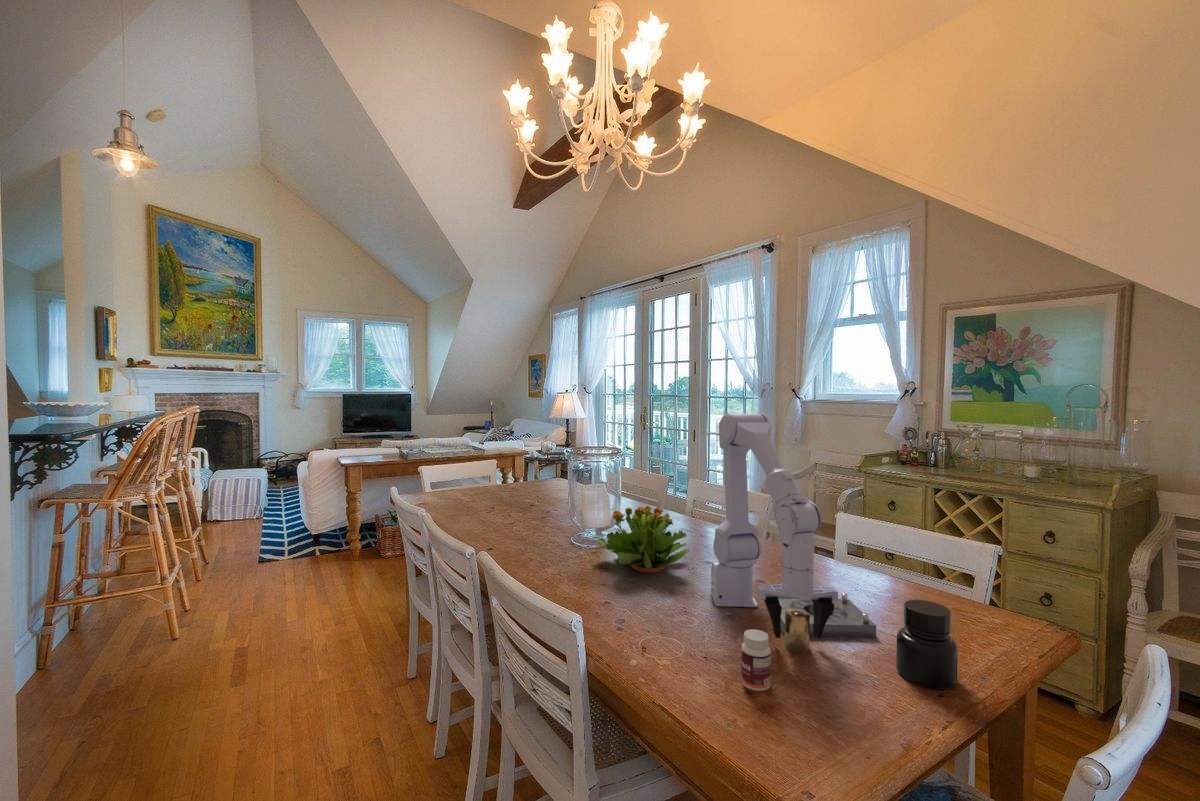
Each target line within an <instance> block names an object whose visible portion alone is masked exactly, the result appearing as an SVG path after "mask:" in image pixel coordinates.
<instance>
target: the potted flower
mask: <svg viewBox="0 0 1200 801" xmlns="http://www.w3.org/2000/svg"><path fill="white" fill-rule="evenodd" d="M624 510H625V513H626V517H625V518H624V516H625V515H624V514H623V513H622V511H619V510H615V511H613V513H612V519H613V520H615V525H616V526H617V530H616V531H615V532H612V531H611V532H610V533H609V532H608V533H606V539H607V541H606V540H605V539H604V538H603V537H600V538H598V540H597V544H599V545H601V546H606V549H607V550H608V551H610V553H613V554H615V555H617V560H618V563H619V565H629V566H630V567H631V568H632V569H633V570H635V571H638V572H642V573H659V572H662V571H663V570H665V569H666V566H668V565H671V564H674V563H675V562H678V561H679V560H681V559H682V558H683V557H684V556H685V555H686V554H687V553H689V552H690V548H685V549H682V550H679V549H680V548H683V547H685V546H687V545H688V543H687V542H684V543H681V542H678V540H680V539H685V538H686V537H687V533H686V532H684V531H683V530H682V529H679V530H678V532H676V530H675V531H674V532H673V534H672V532H671V531H667V528H669V526H670V525H672V526H673V525H674V523H673V522H674V521H673V518H670V514H669V513H665V514H664V515H663V512H664V511H663V509H662V508H661V507H658V506H657V507H655V508H653V512H652V506H650V505H646V506H644V507H641V506H638V507H637V508H635V509H634V512H633V509H632V508H631V507H629V506H628V507H627V508H625V509H624ZM631 515H632V517H631ZM625 521H626V522H627V524H628V526H629V528H630V531H631V532H628V531H627V530H626V529H625V528H624V527H622V525H621V522H625ZM666 531H667V532H666ZM676 541H677V542H676ZM674 542H676V543H674ZM677 550H679V551H678V552H676V553H674V552H675V551H677ZM672 553H674V554H672Z"/></svg>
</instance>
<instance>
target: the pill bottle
mask: <svg viewBox="0 0 1200 801" xmlns="http://www.w3.org/2000/svg"><path fill="white" fill-rule="evenodd" d="M769 640H770V638H769V634H768V633H767V632H765V631H763V630H759V629H755V628H754V629H750V628H749V629H746V630H745V631H744V633H743V643H742V644H741V651H740V652H741V656H740V657H741V659H740V660H741V661H740V663H741V664H740V667H741V668H740V675H741V676H740V677H741V678H740V679H741V680H740V681H741V684H742V685H743V686H744V687H745V688H747V689H748V690H751V691H755V692H765V691H767V690H769V689H770V687H771V683H772V682H771V679H772V678H771V676H772V674H771V673H772V671H771V670H772V668H771V667H772V649H771V647H770V646H769V645H770V644H769V642H770V641H769Z"/></svg>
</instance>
